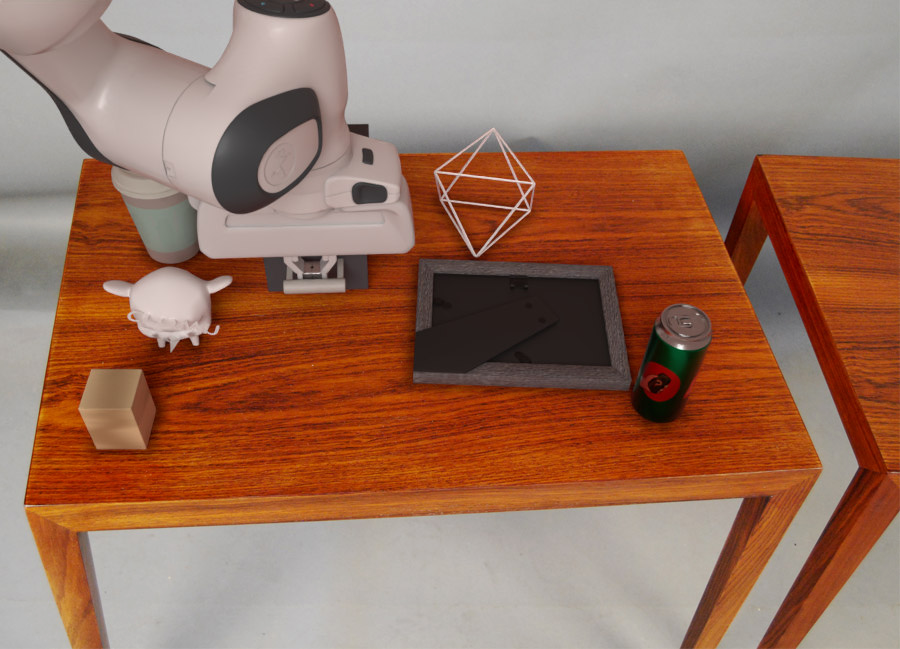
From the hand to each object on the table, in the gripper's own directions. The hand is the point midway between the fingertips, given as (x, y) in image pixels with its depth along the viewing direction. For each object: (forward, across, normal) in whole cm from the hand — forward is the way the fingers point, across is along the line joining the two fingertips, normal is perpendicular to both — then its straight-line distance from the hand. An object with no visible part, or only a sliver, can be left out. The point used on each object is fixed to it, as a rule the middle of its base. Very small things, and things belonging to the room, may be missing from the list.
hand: (313, 279), depth 86 cm
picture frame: (+5, +21, -3) cm, 21 cm away
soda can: (+5, +33, -14) cm, 36 cm away
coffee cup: (+5, -16, +11) cm, 20 cm away
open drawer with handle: (+4, 0, +5) cm, 6 cm away
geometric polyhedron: (+5, +19, +13) cm, 23 cm away
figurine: (+5, -14, -3) cm, 15 cm away
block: (+4, -17, -14) cm, 22 cm away
